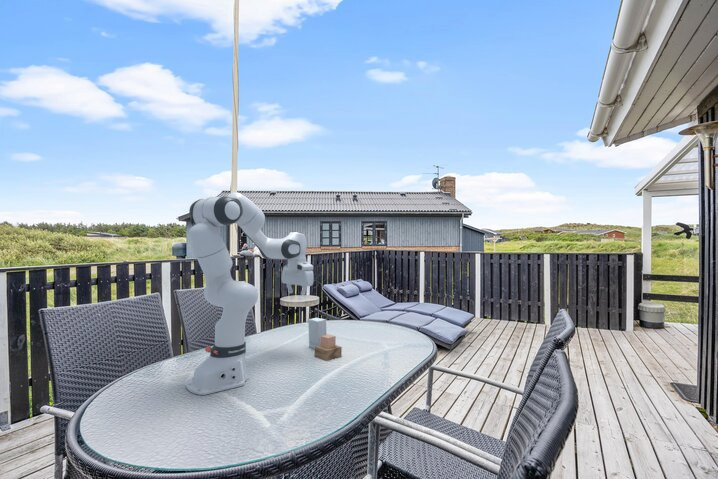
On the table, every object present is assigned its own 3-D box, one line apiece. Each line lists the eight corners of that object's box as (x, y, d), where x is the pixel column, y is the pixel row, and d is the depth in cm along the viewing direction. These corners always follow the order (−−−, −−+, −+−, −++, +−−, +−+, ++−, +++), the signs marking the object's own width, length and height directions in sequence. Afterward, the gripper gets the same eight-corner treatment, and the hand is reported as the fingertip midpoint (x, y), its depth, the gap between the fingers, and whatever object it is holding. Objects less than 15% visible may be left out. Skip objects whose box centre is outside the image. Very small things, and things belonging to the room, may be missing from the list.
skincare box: (327, 348, 184) (327, 319, 184) (317, 351, 179) (318, 321, 179) (317, 345, 190) (317, 316, 190) (307, 347, 185) (308, 318, 186)
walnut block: (327, 361, 164) (327, 350, 164) (314, 357, 171) (314, 346, 171) (341, 357, 171) (341, 346, 171) (328, 353, 177) (328, 342, 177)
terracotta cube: (328, 348, 167) (328, 338, 167) (320, 346, 170) (320, 336, 170) (335, 346, 171) (335, 336, 171) (328, 344, 174) (328, 334, 174)
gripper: (278, 264, 179) (278, 292, 179) (305, 266, 165) (305, 296, 165) (288, 264, 183) (288, 291, 183) (315, 266, 170) (315, 295, 170)
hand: (296, 294), depth 174 cm, fingers open, 8 cm apart
